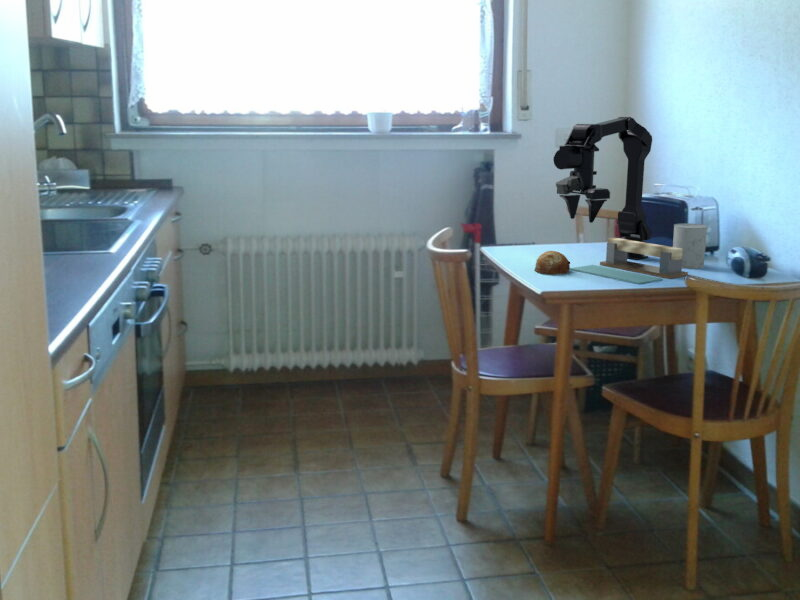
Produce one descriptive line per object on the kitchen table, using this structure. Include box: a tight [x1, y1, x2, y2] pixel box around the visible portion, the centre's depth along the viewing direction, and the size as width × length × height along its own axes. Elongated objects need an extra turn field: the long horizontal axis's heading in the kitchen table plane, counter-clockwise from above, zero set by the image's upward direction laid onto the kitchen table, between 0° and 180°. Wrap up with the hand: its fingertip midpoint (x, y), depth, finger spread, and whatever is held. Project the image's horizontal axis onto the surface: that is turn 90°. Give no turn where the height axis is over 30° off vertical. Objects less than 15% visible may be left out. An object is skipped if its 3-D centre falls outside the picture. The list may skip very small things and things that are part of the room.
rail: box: [607, 237, 683, 260], centre depth 259 cm, size 25×3×3 cm, turn 35°
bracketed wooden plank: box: [599, 241, 689, 280], centre depth 260 cm, size 26×8×7 cm, turn 35°
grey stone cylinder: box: [672, 222, 708, 270], centre depth 266 cm, size 10×10×12 cm
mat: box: [569, 264, 664, 285], centre depth 254 cm, size 10×26×1 cm, turn 35°
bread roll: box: [533, 250, 571, 275], centre depth 258 cm, size 10×10×8 cm
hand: (581, 220), depth 262 cm, fingers open, 9 cm apart
